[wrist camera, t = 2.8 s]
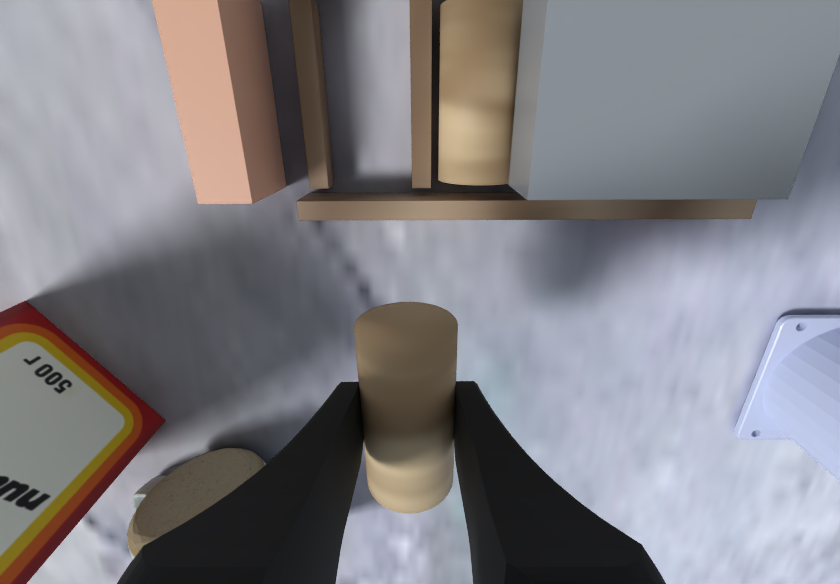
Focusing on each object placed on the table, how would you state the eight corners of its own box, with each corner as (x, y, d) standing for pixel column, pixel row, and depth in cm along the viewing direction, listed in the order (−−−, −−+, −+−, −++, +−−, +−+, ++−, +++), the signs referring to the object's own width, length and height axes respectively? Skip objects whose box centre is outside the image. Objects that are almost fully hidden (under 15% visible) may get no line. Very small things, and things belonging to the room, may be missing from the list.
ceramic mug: (280, 428, 24) (218, 557, 17) (324, 520, 27) (286, 660, 20) (124, 454, 25) (5, 585, 18) (183, 539, 28) (101, 678, 21)
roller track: (790, -38, 15) (880, -76, 12) (718, 208, 19) (773, 225, 16) (283, -33, 15) (248, -70, 12) (310, 210, 19) (290, 227, 16)
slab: (777, -11, 13) (875, -46, 10) (721, 184, 15) (788, 199, 12) (523, -8, 13) (551, -42, 10) (508, 185, 15) (527, 199, 12)
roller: (358, 303, 13) (348, 353, 10) (450, 300, 13) (465, 348, 10) (369, 445, 15) (364, 516, 13) (447, 440, 16) (459, 510, 13)
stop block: (261, 2, 16) (211, -34, 12) (286, 186, 18) (252, 203, 15) (210, 3, 16) (144, -33, 12) (243, 186, 18) (197, 204, 15)
